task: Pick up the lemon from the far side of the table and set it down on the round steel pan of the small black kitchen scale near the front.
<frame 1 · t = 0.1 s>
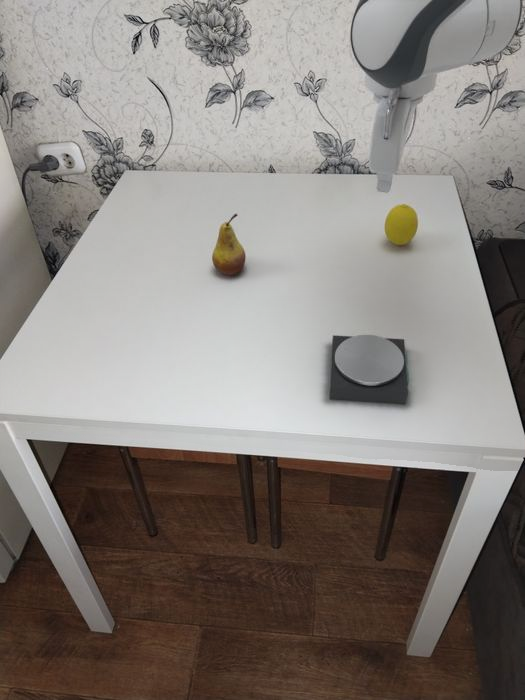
hand: (388, 173, 83), 19 cm above the table, tool pointing down, fingers open, 8 cm apart
scale pan: (368, 359, 79), point 3 cm above the table, slide at 0.0 cm
scale: (366, 375, 82), on the table
lemon: (398, 245, 104), on the table
fruit: (230, 271, 100), on the table
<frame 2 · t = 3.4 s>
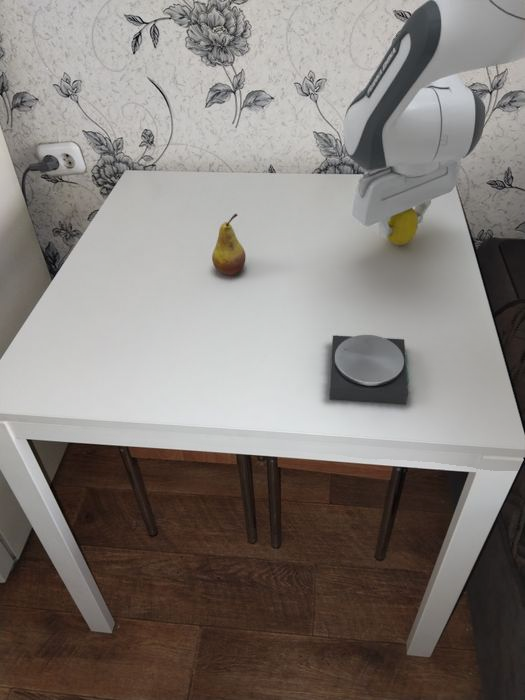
hand: (400, 228, 102), 3 cm above the table, tool pointing down, fingers closed on lemon, 5 cm apart
lemon: (398, 245, 104), on the table, touching gripper
everything else where it was.
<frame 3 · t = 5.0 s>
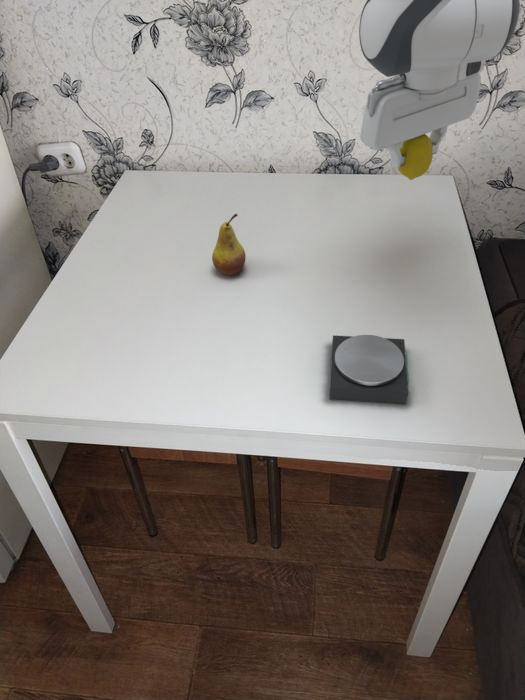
hand: (414, 159, 92), 16 cm above the table, tool pointing down, fingers closed on lemon, 5 cm apart
lemon: (410, 180, 95), point 13 cm above the table, touching gripper
everything else where it was.
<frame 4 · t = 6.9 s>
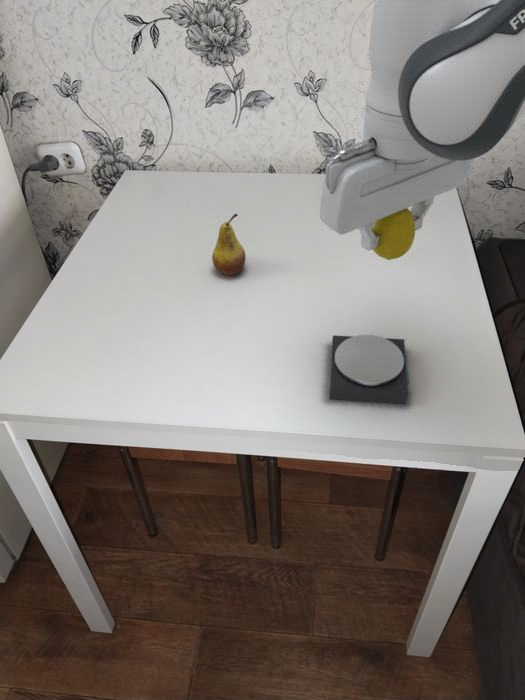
hand: (391, 237, 73), 19 cm above the table, tool pointing down, fingers closed on lemon, 5 cm apart
lemon: (388, 260, 75), point 15 cm above the table, touching gripper
everything else where it was.
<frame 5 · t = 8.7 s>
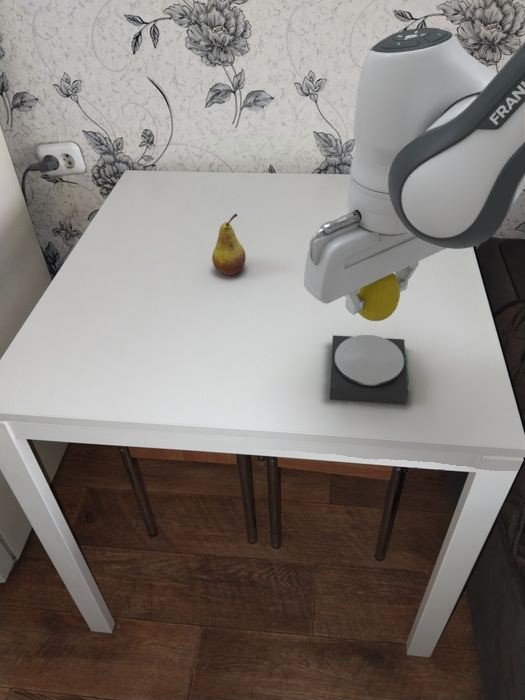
hand: (376, 299, 72), 14 cm above the table, tool pointing down, fingers closed on lemon, 5 cm apart
lemon: (373, 320, 75), point 10 cm above the table, touching gripper
everything else where it was.
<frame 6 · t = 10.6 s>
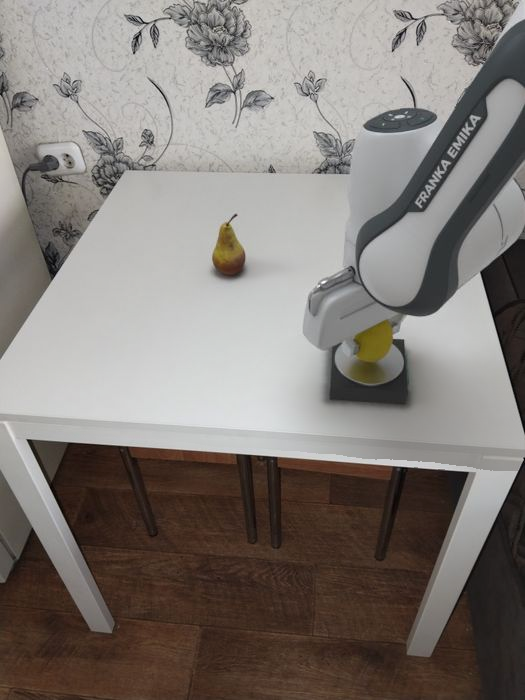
hand: (370, 341, 77), 7 cm above the table, tool pointing down, fingers closed on lemon, 5 cm apart
scale pan: (368, 360, 80), point 3 cm above the table, slide at -0.2 cm, touching lemon, scale
lemon: (368, 360, 80), point 3 cm above the table, touching gripper, scale pan
everything else where it was.
when the fingers open (7 cm above the table, at t = 10.8 s): lemon stays where it is, resting on scale pan.
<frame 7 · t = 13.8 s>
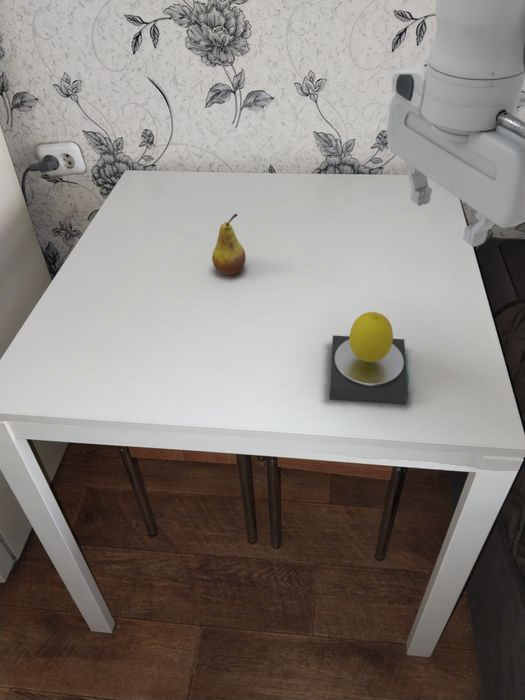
hand: (445, 221, 66), 24 cm above the table, tool pointing down, fingers open, 8 cm apart
lemon: (368, 360, 80), point 3 cm above the table, touching scale pan
everything else where it was.
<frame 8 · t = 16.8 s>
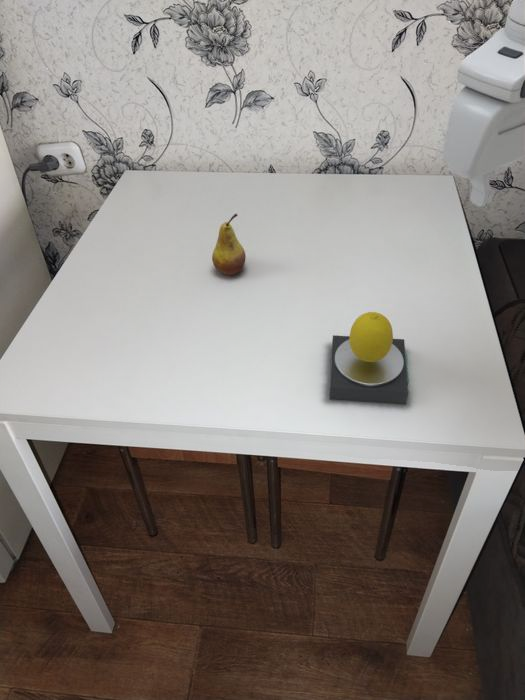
hand: (510, 189, 64), 27 cm above the table, tool pointing down, fingers open, 8 cm apart
nothing on the table moved.
at the end: lemon inside the target area on the scale (0.2 cm from its centre), point 3.0 cm above the scale's base; the gripper is holding nothing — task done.
